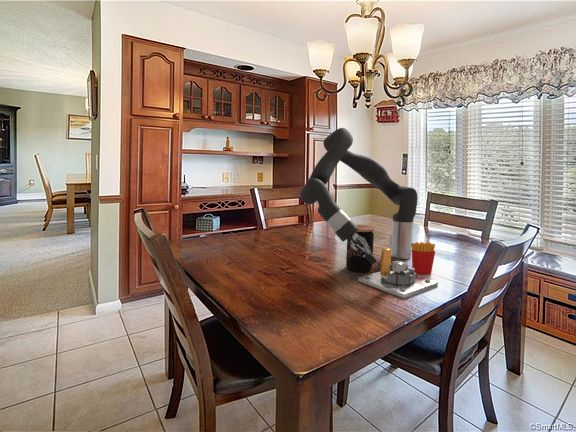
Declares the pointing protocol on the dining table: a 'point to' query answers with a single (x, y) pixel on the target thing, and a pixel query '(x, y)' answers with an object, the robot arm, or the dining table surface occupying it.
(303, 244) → the dining table surface
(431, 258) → the french fries
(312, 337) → the dining table surface
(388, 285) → the flange plate
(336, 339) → the dining table surface
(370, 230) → the coffee jar
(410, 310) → the dining table surface
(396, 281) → the spiky gray ring
